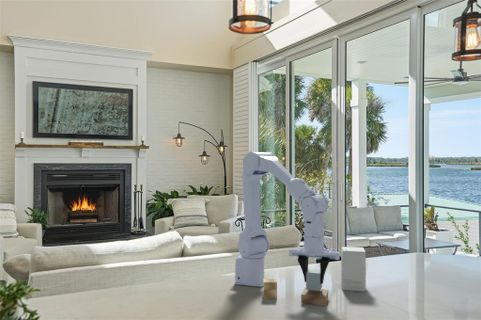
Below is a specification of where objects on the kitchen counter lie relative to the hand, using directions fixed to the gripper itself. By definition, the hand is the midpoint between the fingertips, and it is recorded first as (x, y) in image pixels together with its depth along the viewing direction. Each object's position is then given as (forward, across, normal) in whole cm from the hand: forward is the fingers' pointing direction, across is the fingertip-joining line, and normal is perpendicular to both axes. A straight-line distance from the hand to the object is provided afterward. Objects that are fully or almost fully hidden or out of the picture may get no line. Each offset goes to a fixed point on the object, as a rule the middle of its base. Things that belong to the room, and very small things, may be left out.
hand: (313, 282), depth 124 cm
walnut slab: (+6, 0, 0) cm, 6 cm away
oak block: (+6, -13, -1) cm, 14 cm away
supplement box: (+6, +10, +17) cm, 21 cm away
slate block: (+2, 0, 0) cm, 2 cm away
